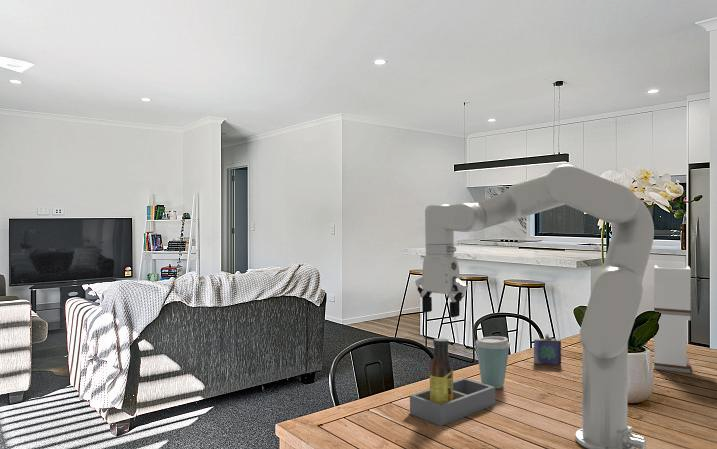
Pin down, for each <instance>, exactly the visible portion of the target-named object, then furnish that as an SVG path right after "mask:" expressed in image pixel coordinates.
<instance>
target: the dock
mask: <svg viewBox="0 0 717 449" xmlns="http://www.w3.org/2000/svg"><path fill="white" fill-rule="evenodd" d="M495 405H496V388H495V387H493V386H490V385H486V384H483V383H482V382H480V381H476V380H473V379H469V378H465V377H463V378H459V379H457V380H453V400H452V401H449V402H446V403H444V404H441V405H440V404H437V403H435V402H432V401H430V388H429V389H426V390H425V389H424V390H422V391H419V392H416V393H412V394H410V395H409V414H410V415H412V416H414V417H417V418H419V419H422V420H424V421H427V422H430V423H431V424H434V425H437V426H439V427H442V426H445V425H447V424H449V423H452V422H455V421H458V420H460V419H462V418H465V417H467V416H470V415H473V414H475V413H477V412H480V411H482V410H485V409H488V408H490V407H493V406H495Z"/></svg>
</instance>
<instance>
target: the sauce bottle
mask: <svg viewBox="0 0 717 449" xmlns="http://www.w3.org/2000/svg"><path fill="white" fill-rule="evenodd" d="M449 346H450V345H449V339H447V338H443V337H441V338H440V337H439V338H434V339H433V347H434V349H433V352H434V353H433V355H434V356H433V358H432V359H431V361H430V364H429V365H430V366H429V389H430V401H432V402H435V403H437V404H440V405H441V404H444V403H446V402H449V401H452V400H453V381H454V368H453V365H452V362H451V360H450V357H449Z"/></svg>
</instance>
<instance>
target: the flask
mask: <svg viewBox="0 0 717 449" xmlns="http://www.w3.org/2000/svg"><path fill="white" fill-rule="evenodd" d="M549 335H550V334H549V333H547V334H544V336H545V337H544V338H534V340H533V363H534V365H538V366H540V365H541V366H553V367H555V366H557V367H562V341H561V340H560V339H559V338H558V339H557V338H555V337H554V338H552V337H550V336H549Z"/></svg>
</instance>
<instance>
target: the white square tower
mask: <svg viewBox="0 0 717 449" xmlns="http://www.w3.org/2000/svg"><path fill="white" fill-rule="evenodd" d="M653 268H654V270H653V271H654V274H653V275H654V278H653V281H654V282H653V283H654V285H653V287H654V289H653V290H654V291H653V294H654V295H653V296H654V297H653V307H654V308H653V312H654V311H655V312H660V313H661V317H660V319H659V322H658V323H659V330H658V332H657V334H656V336H655V337H654V336H653V340H654V341H653V369H654V370H660V371H661V370H662V371H670V372H679V373H686V374H691V363H690V359H689V358H687V335H688V334H687V333H688V330H687V328H688V321H691V319H692V318H691V316H692V315H691V314H692V313H691V312H692V310H691V307H692V306H691V305H692V300H691V299H692V298H691V297H692V294H691V293H692V291H691V290H692V288H691V286H692V285H691V284H692V275H691V274H692V272H691V271H692V270H691V269H692V268H690V266H689V265H687V266H685V267H683V268H676V267H675V268H674V267H673V268H670V267H662V266H661V267H659V266H658V265H657V264H654V266H653Z"/></svg>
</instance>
